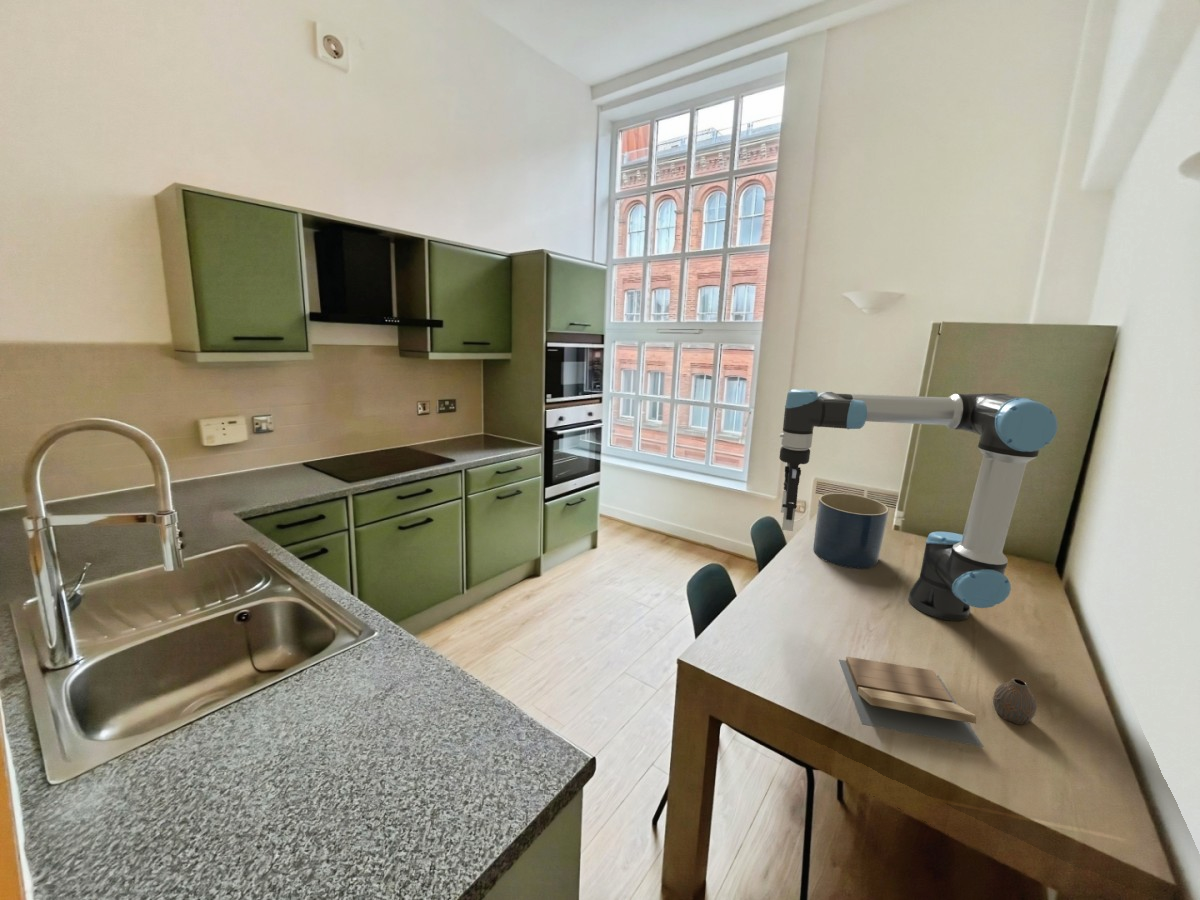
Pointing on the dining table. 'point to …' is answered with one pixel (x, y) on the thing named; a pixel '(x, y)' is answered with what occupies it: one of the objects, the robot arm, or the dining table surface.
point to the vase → (1015, 701)
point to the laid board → (896, 679)
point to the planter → (849, 530)
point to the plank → (916, 705)
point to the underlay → (910, 718)
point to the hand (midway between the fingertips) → (786, 521)
